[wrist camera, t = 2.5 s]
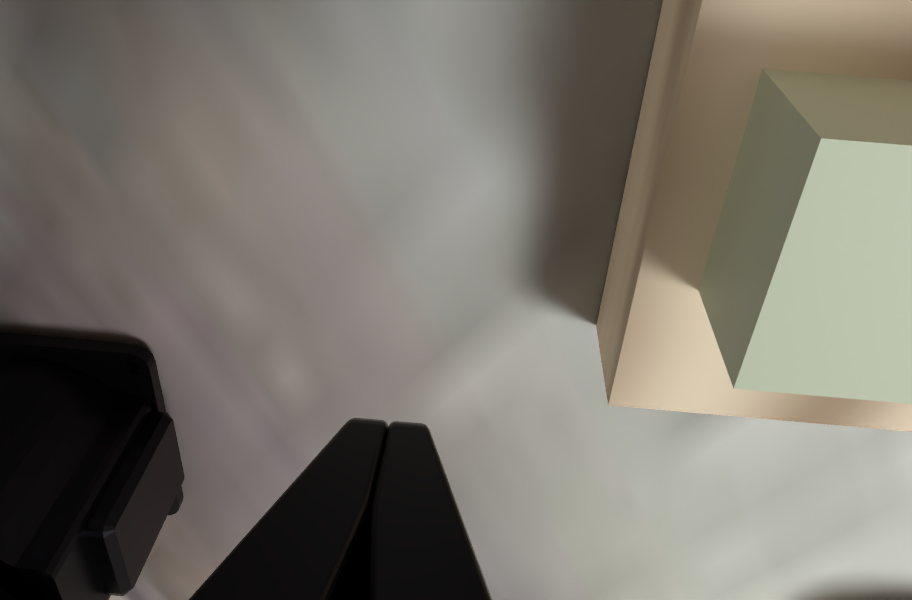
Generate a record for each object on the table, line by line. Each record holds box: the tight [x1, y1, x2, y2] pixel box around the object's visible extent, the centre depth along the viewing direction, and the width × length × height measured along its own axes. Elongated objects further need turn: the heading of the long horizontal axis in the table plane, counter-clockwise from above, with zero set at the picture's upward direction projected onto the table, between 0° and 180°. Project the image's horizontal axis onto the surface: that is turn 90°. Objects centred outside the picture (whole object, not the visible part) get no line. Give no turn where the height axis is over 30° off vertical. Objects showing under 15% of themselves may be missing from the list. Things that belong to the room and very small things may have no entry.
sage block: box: [698, 68, 912, 404], centre depth 13 cm, size 4×4×3 cm
